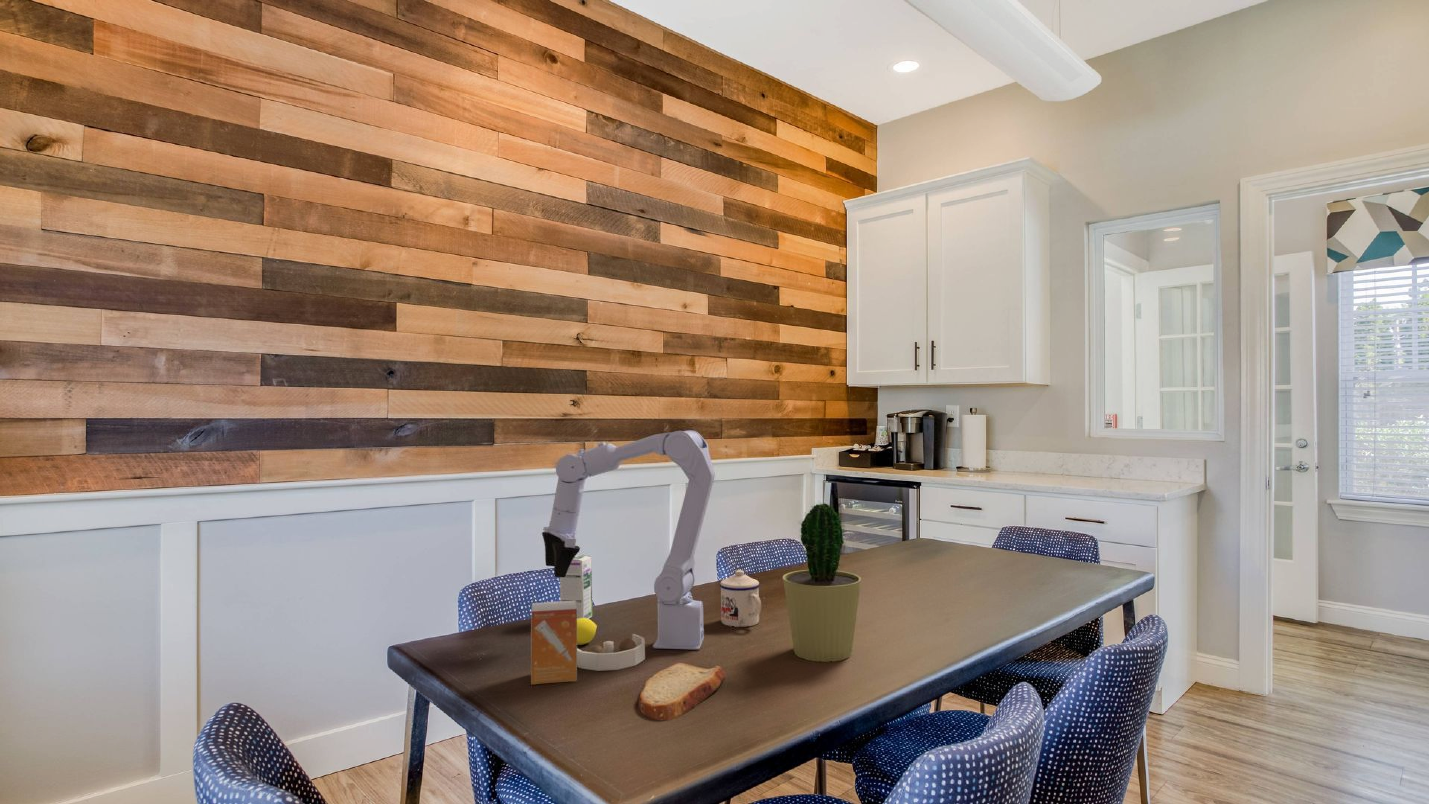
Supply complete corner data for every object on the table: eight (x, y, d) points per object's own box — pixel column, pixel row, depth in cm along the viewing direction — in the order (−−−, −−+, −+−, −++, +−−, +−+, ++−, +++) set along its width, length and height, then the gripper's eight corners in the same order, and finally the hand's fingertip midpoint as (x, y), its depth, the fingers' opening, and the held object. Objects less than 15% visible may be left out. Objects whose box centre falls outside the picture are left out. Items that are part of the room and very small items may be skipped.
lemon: (572, 652, 149) (568, 626, 148) (562, 645, 153) (558, 620, 153) (603, 641, 152) (600, 616, 152) (593, 635, 157) (589, 610, 157)
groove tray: (657, 651, 147) (657, 636, 147) (621, 674, 134) (621, 657, 134) (605, 644, 152) (605, 630, 152) (565, 666, 139) (565, 650, 139)
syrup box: (583, 623, 167) (583, 559, 168) (559, 622, 169) (559, 559, 169) (592, 617, 173) (592, 555, 173) (569, 616, 174) (568, 554, 174)
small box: (530, 685, 129) (530, 611, 129) (531, 673, 135) (531, 602, 135) (577, 681, 131) (577, 608, 131) (576, 669, 137) (575, 599, 137)
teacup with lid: (712, 621, 169) (711, 570, 169) (744, 614, 174) (743, 565, 174) (743, 633, 159) (742, 579, 159) (776, 626, 164) (775, 573, 164)
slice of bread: (651, 725, 112) (650, 701, 113) (618, 686, 129) (618, 665, 129) (755, 706, 120) (755, 683, 120) (712, 671, 136) (711, 651, 136)
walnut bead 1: (606, 660, 142) (606, 643, 142) (601, 666, 138) (601, 648, 138) (589, 660, 142) (589, 642, 142) (584, 666, 139) (584, 648, 139)
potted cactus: (815, 636, 156) (813, 494, 157) (877, 651, 145) (875, 499, 146) (767, 652, 146) (765, 500, 146) (830, 671, 135) (828, 507, 135)
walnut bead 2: (637, 653, 146) (637, 636, 146) (634, 659, 142) (633, 641, 142) (621, 653, 146) (620, 635, 146) (616, 658, 143) (616, 641, 143)
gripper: (540, 500, 163) (529, 560, 163) (556, 515, 150) (544, 581, 150) (570, 502, 166) (560, 561, 166) (589, 518, 153) (577, 582, 153)
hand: (554, 571), depth 158 cm, fingers open, 7 cm apart
